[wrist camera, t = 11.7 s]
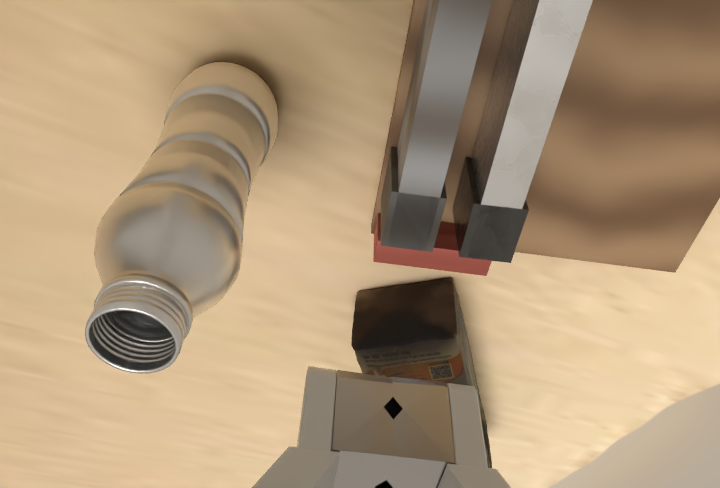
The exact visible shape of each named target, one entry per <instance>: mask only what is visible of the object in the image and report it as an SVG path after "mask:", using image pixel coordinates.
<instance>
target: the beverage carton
mask: <svg viewBox="0 0 720 488" xmlns="http://www.w3.org/2000/svg"><path fill="white" fill-rule="evenodd" d="M352 347H353V349H354V350H355V353H356V357H357V361H358V363H359V365H360V367H361V370H362V373H363V374H369V375H376V376H383V377H390V378H391V377H399V378H409V379H418V380H428V381H438V382H445V384H446V383H451V384H459V385H468V386H474V387H475V389H476V390H477V394H478V401H479V408H480V415H481V422H482V429H483V436H484V443H485V450H486V457H487V464H488V468H492V462H491V453H490V445H489V439H488V434H487V424H486V421H485V416H484V412H483V408H482V405H481V400H480V396H479V391H478V386H477V382H476V376H475V371H474V366H473V361H472V356H471V351H470V347H469V342H468V338H467V333H466V329H465V325H464V320H463V316H462V312H461V308H460V304H459V301H458V296H457V293H456V290H455V287H454V284H453V279H452V278H448V279H441V280H433V281H429V282H423V283H415V284H408V285H397V286H392V287H387V288H378V289H371V290H362V291H359V292H358V293H357V296H356V301H355V311H354V321H353V329H352Z"/></svg>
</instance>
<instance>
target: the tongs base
mask: <svg viewBox="0 0 720 488" xmlns="http://www.w3.org/2000/svg"><path fill="white" fill-rule="evenodd" d="M512 3H513V0H414V2H413V7H412V13H411V18H410V23H409V29H408V34H407V39H406V45H405V50H404V55H403V60H402V66H401V71H400V76H399V82H398V87H397V92H396V98H395V103H394V108H393V113H392V119H391V124H390V129H389V135H388V140H387V145H386V150H385V156H384V161H383V166H382V172H381V177H380V182H379V188H378V193H377V198H376V203H375V209H374V214H373V219H372V225H371V233H373V234H374V261H373V262H381V263H389V264H397V265H405V266H412V267H420V268H428V269H436V270H444V271H452V272H460V273H468V274H476V275H484V276H486V275H487V272H488V270H489V267H490V264H491V260H482V259H473V258H464V257H459V253H458V246H457V239H456V231H455V224H454V217H453V210H452V209H453V205H454V201H455V197H456V193H457V189H458V185H459V181H460V177H461V173H462V169H463V166H464V162H465V158H471V159H472V156H473V152H474V148H475V144H476V140H477V136H478V133H479V129H480V125H481V121H482V117H483V114H484V110H485V106H486V102H487V98H488V94H489V91H490V87H491V83H492V79H493V75H494V72H495V68H496V64H497V60H498V56H499V53H500V49H501V45H502V41H503V37H504V33H505V30H506V26H507V22H508V18H509V14H510V11H511V7H512ZM719 198H720V0H593V1H592V4H591V7H590V10H589V13H588V16H587V19H586V22H585V25H584V28H583V31H582V34H581V37H580V40H579V43H578V46H577V49H576V51H575V54H574V57H573V60H572V63H571V66H570V69H569V72H568V75H567V78H566V81H565V84H564V87H563V90H562V93H561V96H560V99H559V102H558V105H557V108H556V111H555V114H554V116H553V119H552V122H551V125H550V128H549V131H548V134H547V137H546V140H545V143H544V146H543V149H542V152H541V155H540V158H539V161H538V164H537V167H536V170H535V173H534V176H533V179H532V181H531V184H530V187H529V190H528V193H527V196H526V202H527V205H528V208H529V211H528V214H527V217H526V220H525V223H524V226H523V229H522V231H521V234H520V237H519V240H518V243H517V246H516V249H515V252H520V253H528V254H535V255H543V256H551V257H559V258H566V259H574V260H582V261H590V262H597V263H605V264H613V265H621V266H628V267H636V268H644V269H652V270H659V271H667V272H676V270H677V268H678V267H679V265H680V263H681V262H682V260H683V258H684V257H685V255H686V253H687V252H688V250H689V248H690V247H691V245H692V243H693V242H694V240H695V238H696V237H697V235H698V233H699V231H700V230H701V228H702V226H703V225H704V223H705V221H706V220H707V218H708V216H709V215H710V213H711V211H712V210H713V208H714V206H715V205H716V203H717V201H718V200H719Z"/></svg>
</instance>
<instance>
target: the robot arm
mask: <svg viewBox="0 0 720 488" xmlns="http://www.w3.org/2000/svg"><path fill="white" fill-rule="evenodd" d="M252 488H511V487H510V486H509V484H508V483H507V482H506V481H505V479H504V478H503V477H502V476H501V474H500V473H499V472H498V471H497V469H492V468H488V464H487V457H486V450H485V443H484V436H483V429H482V422H481V415H480V408H479V401H478V394H477V390H476V389H475V387H474V386H468V385H459V384H451V383H446V384H445V382H438V381H428V380H418V379H409V378H399V377H391V378H390V377H383V376H376V375H369V374H362V373H355V372H348V371H341V370H337V371H336V370H332V369H325V368H317V367H308V370H307V375H306V382H305V389H304V397H303V404H302V411H301V419H300V426H299V433H298V442H297V447H288V448H287V450H286V451H285V452H284V453H283V454H282V455H281V456H280V457H279V458H278V459H277V461H276V462H275V463H274V464H273V465H272V466H271V467H270V468H269V469H268V471H267V472H266V473H265V474H264V475H263V476H262V477H261V478H260V479H259V480H258V482H257V483H256V484H255V485H254V486H253V487H252Z"/></svg>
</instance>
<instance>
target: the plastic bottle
mask: <svg viewBox="0 0 720 488" xmlns="http://www.w3.org/2000/svg"><path fill="white" fill-rule="evenodd" d="M277 132H278V113H277V104H276V101H275V98H274V95H273V94H272V92H271V90H270V88H269V86H268V85H267V84H266V83H265V82H264V81H263V79H262V78H261V77H259V76H258V75H257V74H256V73H254V72H253V71H251V70H249V69H248V68H246V67H244V66H241V65H238V64H235V63H228V62H213V63H210V64H206V65H203V66H201V67H199V68H197V69H195V70H194V71H193V72H192V73H190V74H189V75H188V76H187V77H186V78H184V79H183V80H182V81H181V82H180V83H179V84H178V85H177V87H176V88H175V89H174V91H173V93H172V95H171V98H170V100H169V103H168V107H167V110H166V115H165V120H164V128H163V130H162V133H161V136H160V138H159V141H158V144H157V146H156V149H155V150H154V152H153V153H152V155H151V157H150V158H149V160H148V161H147V162H146V164H145V165H144V167H143V168H142V170H141V171H140V173H139V174H138V175H137V177H136V178H135V179H134V180H133V181H132V182H131V183H130V184H129V185H128V187H127V188H126V189H125V190H124V191H123V192H122V193H121V194H120V196H119V197H118V198H117V199H116V200H115V201H114V202H113V204H112V205H111V206H110V207H109V209H108V210H107V212H106V213H105V215H104V216H103V217H102V219H101V221H100V223H99V226H98V228H97V234H96V241H95V251H94V256H95V264H96V267H97V270H98V273H99V276H100V279H101V281H102V284H103V287H102V288H101V290H100V292H99V294H98V296H97V298H96V300H95V304H94V310H93V312H92V314H91V315H90V317H89V319H88V322H87V325H86V329H85V337H86V341H87V344H88V346H89V347H90V349H91V350H92V352H93V353H94V354H95V355H96V356H97V357H98V358H99V359H101V360H102V361H104V362H105V363H107V364H109V365H110V366H112V367H115V368H117V369H120V370H123V371H127V372H132V373H153V372H157V371H160V370H163V369H165V368H167V367H169V366H170V365H171V364H172V363H173V362H174V361H175V359H176V358H177V356H178V355H179V353H180V350H181V347H182V344H183V341H184V339H185V338H186V336H187V334H188V333H189V330H190V327H191V324H192V321H193V317H195V316H197V315H199V314H201V313H202V312H204V311H206V310H208V309H209V308H211V307H213V306H214V305H215V304H217V303H218V302H219V301H220V300H221V299H222V298H223V296H224V295H225V294H226V293H227V291H228V290H229V289H230V287H231V286H232V284H233V283H234V281H235V280H236V278H237V275H238V272H239V269H240V262H241V257H242V242H243V226H244V215H245V210H246V206H247V201H248V195H249V191H250V187H251V185H252V183H253V180H254V178H255V176H256V174H257V172H258V169H259V167H260V166H261V165H262V164H263V162H264V161H265V159H266V157H267V156H268V154H269V152H270V150H271V149H272V147H273V145H274V143H275V140H276V137H277Z"/></svg>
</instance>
